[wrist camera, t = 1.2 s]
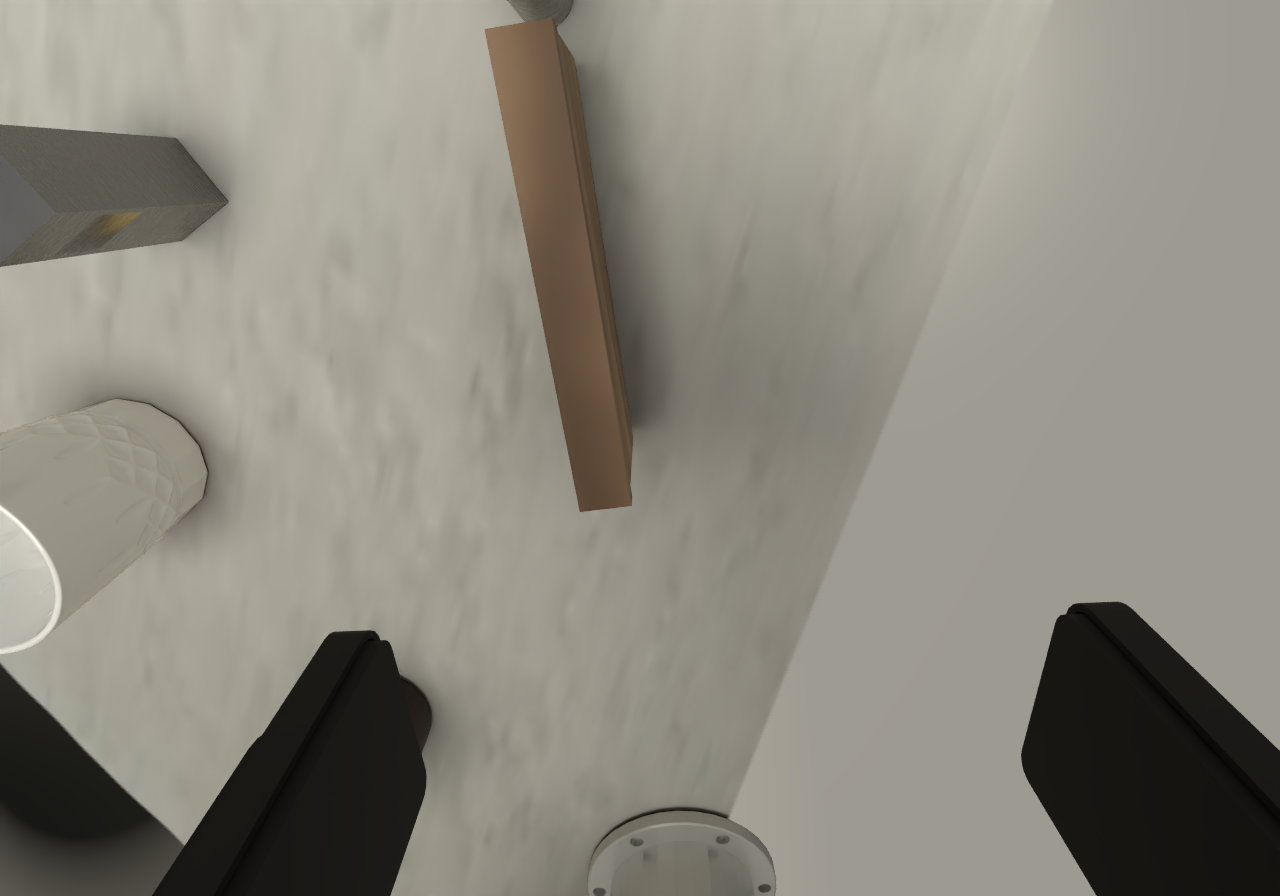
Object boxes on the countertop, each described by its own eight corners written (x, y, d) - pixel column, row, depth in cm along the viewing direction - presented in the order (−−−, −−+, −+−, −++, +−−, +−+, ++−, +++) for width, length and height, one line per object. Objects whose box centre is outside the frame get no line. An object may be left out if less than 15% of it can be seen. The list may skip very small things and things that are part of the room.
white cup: (115, 354, 31) (-108, 429, 22) (252, 468, 34) (101, 580, 24) (31, 453, 33) (-206, 559, 24) (164, 554, 36) (-5, 687, 26)
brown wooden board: (576, 57, 25) (552, 17, 19) (635, 438, 31) (631, 505, 25) (526, 65, 26) (484, 29, 19) (593, 443, 32) (580, 511, 25)
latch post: (228, 201, 29) (55, 212, 20) (181, 240, 29) (-5, 267, 21) (175, 137, 28) (-29, 122, 19) (127, 179, 28) (-90, 182, 20)
